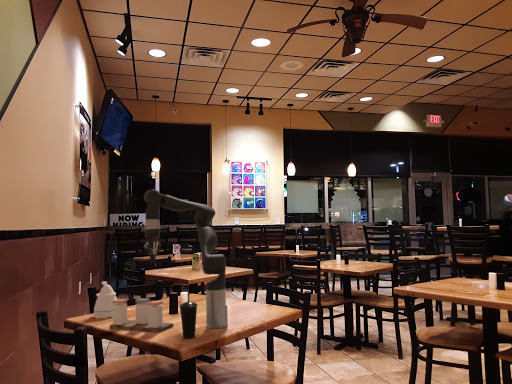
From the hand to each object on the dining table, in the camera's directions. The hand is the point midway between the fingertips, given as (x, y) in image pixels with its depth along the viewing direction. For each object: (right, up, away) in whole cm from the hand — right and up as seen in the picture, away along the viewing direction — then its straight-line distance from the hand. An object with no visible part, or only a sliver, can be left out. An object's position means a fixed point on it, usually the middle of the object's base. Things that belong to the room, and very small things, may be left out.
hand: (152, 262), depth 211 cm
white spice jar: (-11, -26, -17) cm, 33 cm away
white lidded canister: (+7, -25, -24) cm, 36 cm away
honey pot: (-27, -31, +10) cm, 42 cm away
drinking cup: (+25, -26, -37) cm, 52 cm away
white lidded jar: (0, -26, -17) cm, 31 cm away
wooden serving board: (-1, -28, -18) cm, 33 cm away
